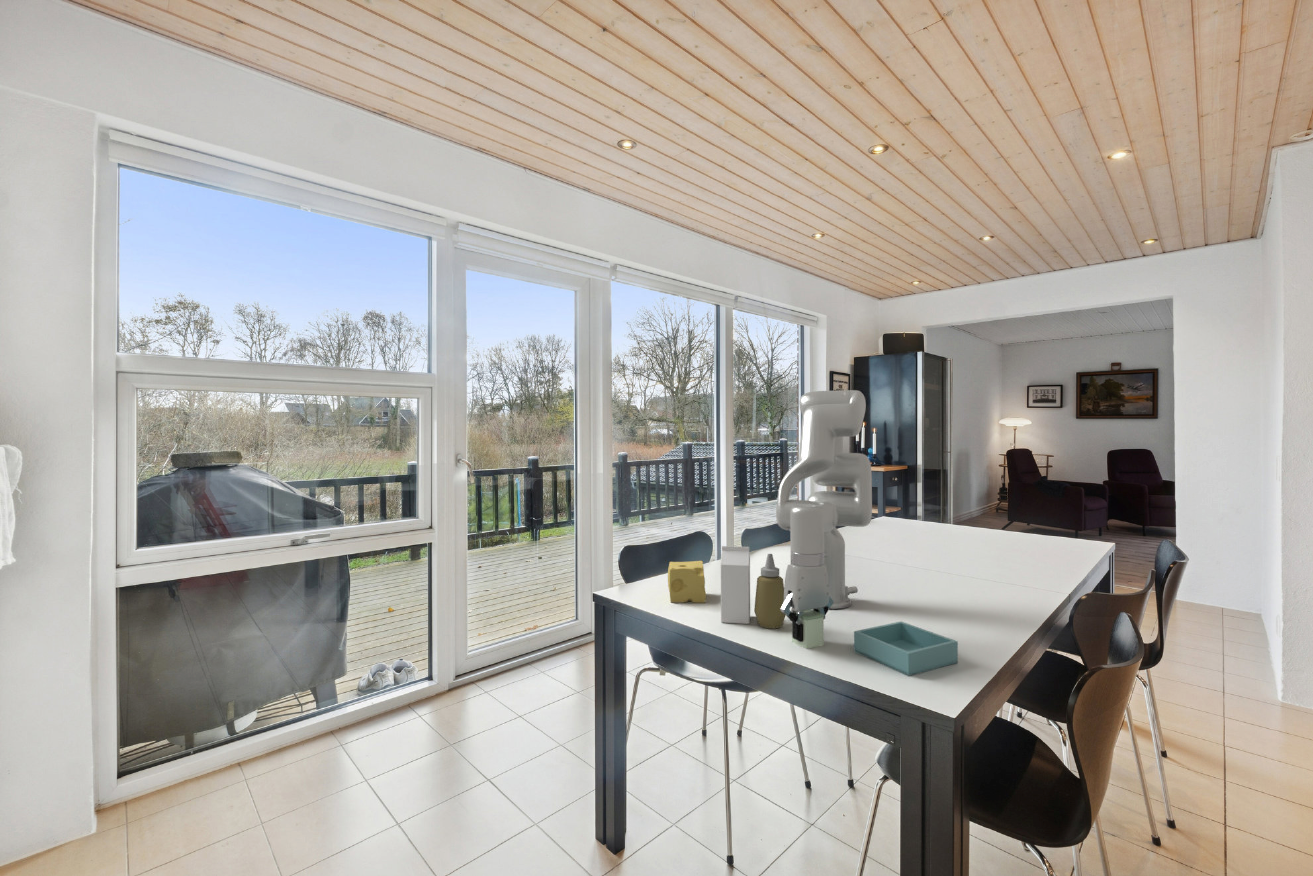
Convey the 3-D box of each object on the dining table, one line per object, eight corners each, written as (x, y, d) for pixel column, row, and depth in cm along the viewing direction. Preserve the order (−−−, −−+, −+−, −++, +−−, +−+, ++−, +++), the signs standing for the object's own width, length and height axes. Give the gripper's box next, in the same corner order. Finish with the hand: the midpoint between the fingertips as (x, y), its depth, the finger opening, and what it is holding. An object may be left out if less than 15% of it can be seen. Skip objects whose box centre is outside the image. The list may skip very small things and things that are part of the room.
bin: (901, 640, 137) (901, 621, 137) (957, 662, 124) (957, 641, 124) (854, 651, 131) (854, 631, 130) (908, 676, 117) (908, 653, 117)
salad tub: (808, 638, 139) (808, 608, 139) (824, 645, 135) (824, 614, 135) (791, 641, 137) (791, 611, 137) (806, 649, 132) (806, 618, 132)
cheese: (705, 603, 168) (705, 568, 168) (668, 603, 168) (667, 568, 168) (703, 593, 178) (703, 560, 178) (667, 593, 178) (667, 560, 178)
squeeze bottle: (752, 620, 153) (751, 550, 152) (783, 620, 152) (783, 550, 152) (756, 630, 144) (756, 557, 144) (789, 630, 144) (789, 557, 144)
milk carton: (749, 624, 149) (748, 549, 149) (721, 623, 151) (720, 548, 150) (750, 615, 156) (749, 544, 156) (723, 614, 158) (722, 543, 157)
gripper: (824, 552, 143) (824, 627, 143) (767, 559, 135) (767, 638, 135) (847, 558, 136) (847, 636, 136) (788, 566, 128) (788, 649, 129)
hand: (807, 637), depth 136 cm, fingers closed on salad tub, 5 cm apart
